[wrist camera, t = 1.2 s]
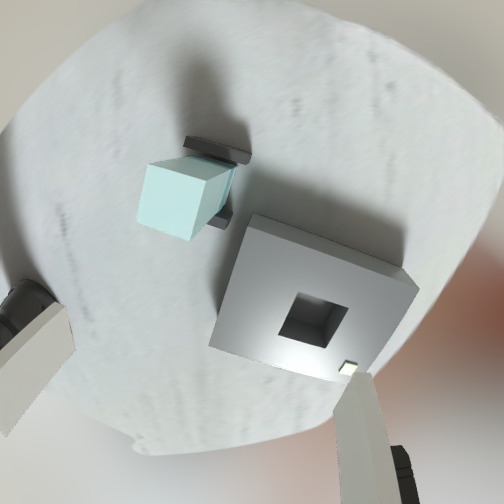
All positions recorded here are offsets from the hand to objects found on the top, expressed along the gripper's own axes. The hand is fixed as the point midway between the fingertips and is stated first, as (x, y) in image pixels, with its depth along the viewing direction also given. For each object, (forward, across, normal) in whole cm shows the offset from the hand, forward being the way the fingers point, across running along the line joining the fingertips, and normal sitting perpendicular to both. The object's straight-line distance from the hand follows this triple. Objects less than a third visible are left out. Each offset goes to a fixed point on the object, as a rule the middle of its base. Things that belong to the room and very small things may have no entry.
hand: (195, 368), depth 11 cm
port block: (+20, +8, -6) cm, 23 cm away
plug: (+20, -4, +5) cm, 21 cm away
